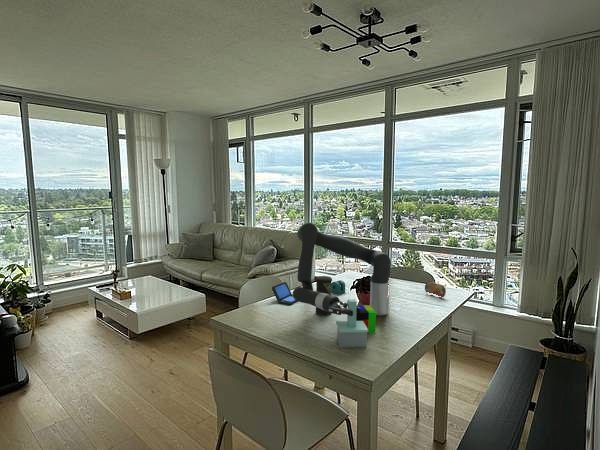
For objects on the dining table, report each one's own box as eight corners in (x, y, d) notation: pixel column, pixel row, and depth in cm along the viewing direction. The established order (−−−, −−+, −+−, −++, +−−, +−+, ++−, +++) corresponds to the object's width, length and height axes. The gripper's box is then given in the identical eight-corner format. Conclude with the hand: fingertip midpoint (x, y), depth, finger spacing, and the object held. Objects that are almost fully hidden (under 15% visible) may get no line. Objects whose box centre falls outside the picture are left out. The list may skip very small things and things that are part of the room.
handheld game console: (289, 306, 195) (290, 290, 194) (270, 302, 202) (270, 287, 201) (303, 299, 209) (303, 284, 208) (285, 295, 216) (285, 281, 215)
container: (330, 316, 179) (331, 279, 177) (313, 315, 181) (314, 278, 179) (332, 311, 187) (333, 275, 185) (316, 309, 189) (316, 274, 187)
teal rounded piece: (345, 293, 221) (345, 281, 221) (338, 295, 217) (338, 283, 216) (325, 287, 235) (325, 276, 234) (318, 289, 230) (318, 277, 230)
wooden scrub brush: (424, 293, 222) (424, 280, 221) (427, 292, 223) (428, 280, 222) (442, 299, 208) (443, 286, 208) (446, 299, 210) (447, 285, 209)
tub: (361, 338, 152) (361, 323, 151) (366, 347, 143) (366, 331, 143) (337, 338, 152) (337, 323, 151) (340, 348, 143) (340, 332, 142)
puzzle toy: (349, 325, 167) (349, 305, 166) (369, 325, 168) (369, 305, 167) (354, 334, 157) (354, 313, 156) (375, 333, 158) (375, 312, 157)
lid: (362, 323, 152) (363, 296, 151) (368, 332, 142) (368, 304, 141) (335, 323, 151) (336, 296, 150) (339, 332, 142) (340, 304, 140)
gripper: (316, 297, 151) (346, 307, 139) (337, 291, 161) (367, 300, 148) (316, 314, 152) (345, 325, 140) (337, 307, 162) (367, 316, 149)
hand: (356, 312), depth 144 cm, fingers open, 5 cm apart
